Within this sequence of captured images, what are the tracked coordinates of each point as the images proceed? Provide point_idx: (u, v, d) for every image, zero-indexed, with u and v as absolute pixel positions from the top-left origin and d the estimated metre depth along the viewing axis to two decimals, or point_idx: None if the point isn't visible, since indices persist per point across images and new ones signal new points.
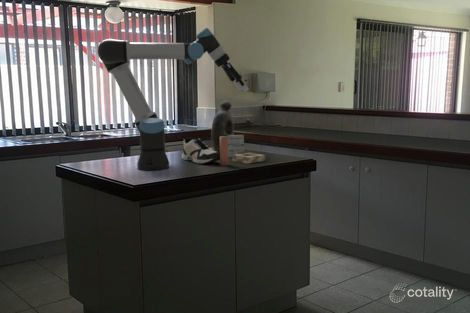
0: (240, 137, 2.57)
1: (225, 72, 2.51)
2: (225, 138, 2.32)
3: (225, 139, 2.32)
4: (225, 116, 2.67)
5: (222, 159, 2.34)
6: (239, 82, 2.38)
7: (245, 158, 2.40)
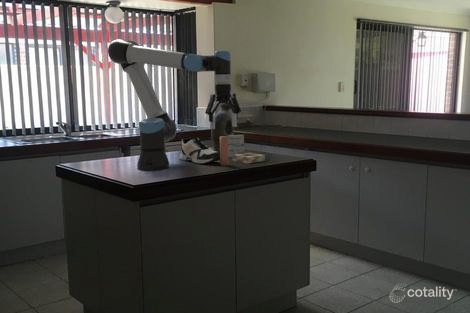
0: (240, 137, 2.57)
1: None
2: (225, 138, 2.32)
3: (225, 139, 2.32)
4: (225, 116, 2.67)
5: (222, 159, 2.34)
6: None
7: (245, 158, 2.40)
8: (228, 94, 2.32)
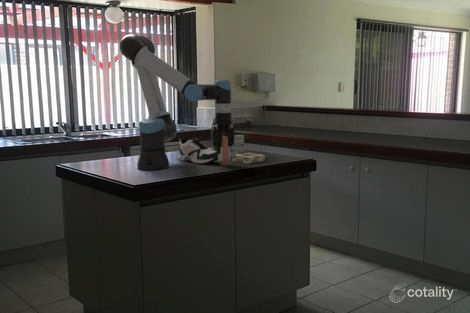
0: (240, 137, 2.57)
1: None
2: (225, 138, 2.32)
3: (225, 139, 2.32)
4: None
5: None
6: None
7: (245, 158, 2.40)
8: (229, 122, 2.34)
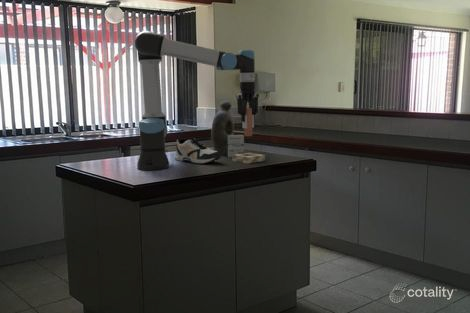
0: (240, 137, 2.57)
1: None
2: (249, 109, 2.41)
3: (249, 110, 2.41)
4: (225, 116, 2.67)
5: (246, 130, 2.43)
6: None
7: (245, 158, 2.40)
8: (253, 91, 2.42)
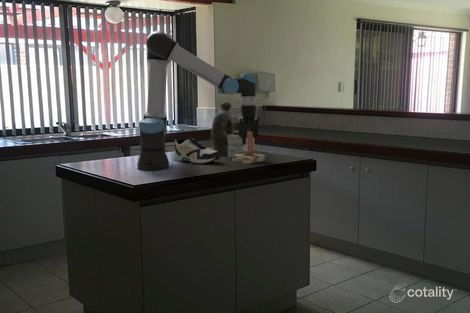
0: (240, 137, 2.57)
1: None
2: (250, 133, 2.44)
3: (250, 134, 2.44)
4: (225, 116, 2.67)
5: (247, 153, 2.45)
6: None
7: (245, 158, 2.40)
8: (253, 114, 2.45)
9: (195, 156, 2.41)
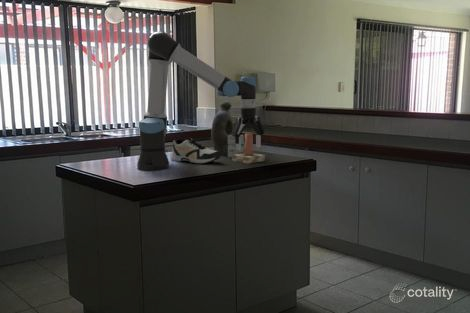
0: None
1: None
2: (250, 135, 2.44)
3: (250, 136, 2.44)
4: (225, 116, 2.67)
5: (247, 155, 2.45)
6: None
7: (245, 158, 2.40)
8: (253, 117, 2.45)
9: (195, 156, 2.41)
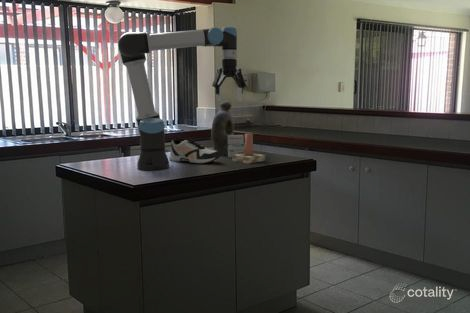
0: (240, 137, 2.57)
1: None
2: (250, 135, 2.44)
3: (250, 136, 2.44)
4: (225, 116, 2.67)
5: (247, 155, 2.45)
6: None
7: (245, 158, 2.40)
8: (234, 69, 2.45)
9: (195, 156, 2.40)
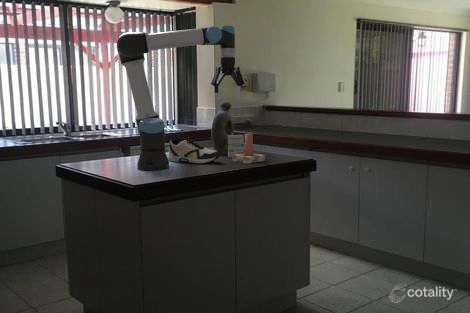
0: (240, 137, 2.57)
1: None
2: (250, 135, 2.44)
3: (250, 136, 2.44)
4: (225, 116, 2.67)
5: (247, 155, 2.45)
6: None
7: (245, 158, 2.40)
8: (232, 67, 2.45)
9: (195, 156, 2.40)
